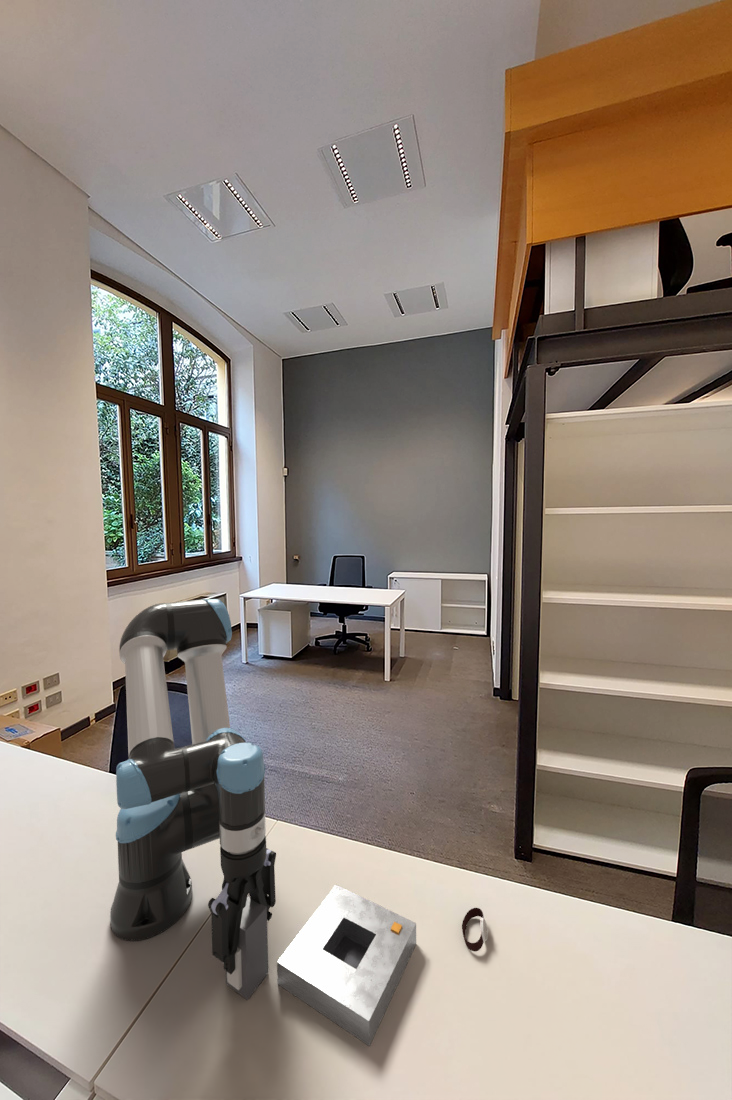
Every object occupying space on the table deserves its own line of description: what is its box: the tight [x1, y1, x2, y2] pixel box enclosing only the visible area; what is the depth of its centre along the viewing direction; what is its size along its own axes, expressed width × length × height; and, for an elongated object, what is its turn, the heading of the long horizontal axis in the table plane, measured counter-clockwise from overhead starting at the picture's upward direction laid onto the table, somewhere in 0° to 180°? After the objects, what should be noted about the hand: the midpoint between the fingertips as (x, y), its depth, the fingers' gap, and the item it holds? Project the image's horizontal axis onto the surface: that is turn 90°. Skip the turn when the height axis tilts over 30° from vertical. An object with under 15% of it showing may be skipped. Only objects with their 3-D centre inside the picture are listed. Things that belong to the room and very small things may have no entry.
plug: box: [225, 895, 269, 1001], centre depth 73 cm, size 5×5×12 cm
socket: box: [276, 884, 417, 1047], centre depth 76 cm, size 18×18×4 cm
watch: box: [461, 907, 488, 952], centre depth 81 cm, size 8×5×4 cm, turn 160°
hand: (247, 968), depth 73 cm, fingers closed on plug, 5 cm apart
